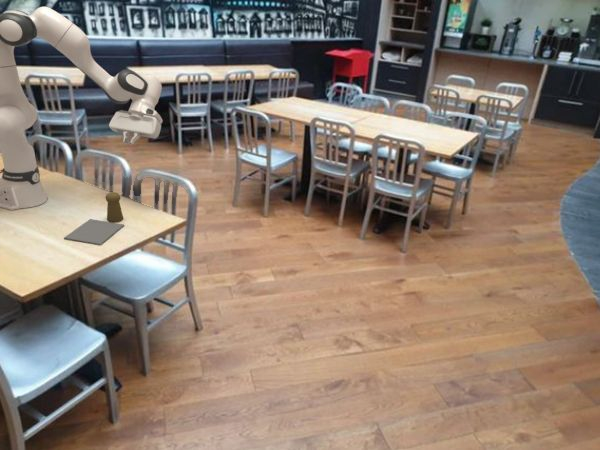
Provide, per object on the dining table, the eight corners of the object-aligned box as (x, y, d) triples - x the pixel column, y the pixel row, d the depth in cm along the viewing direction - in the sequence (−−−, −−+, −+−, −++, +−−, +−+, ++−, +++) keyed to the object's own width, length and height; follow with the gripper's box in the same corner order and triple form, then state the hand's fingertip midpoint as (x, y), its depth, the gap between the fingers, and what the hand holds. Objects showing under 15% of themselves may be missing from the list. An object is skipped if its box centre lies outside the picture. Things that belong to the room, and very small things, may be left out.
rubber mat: (64, 239, 162) (63, 237, 161) (90, 220, 176) (90, 218, 176) (100, 245, 160) (100, 244, 160) (124, 225, 174) (124, 224, 174)
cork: (118, 223, 175) (115, 197, 170) (103, 221, 176) (100, 195, 171) (126, 217, 181) (124, 191, 176) (112, 214, 182) (109, 189, 177)
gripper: (113, 104, 180) (100, 135, 176) (160, 112, 176) (147, 143, 172) (121, 113, 186) (108, 143, 182) (166, 121, 182) (154, 151, 178)
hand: (128, 143), depth 177 cm, fingers closed
